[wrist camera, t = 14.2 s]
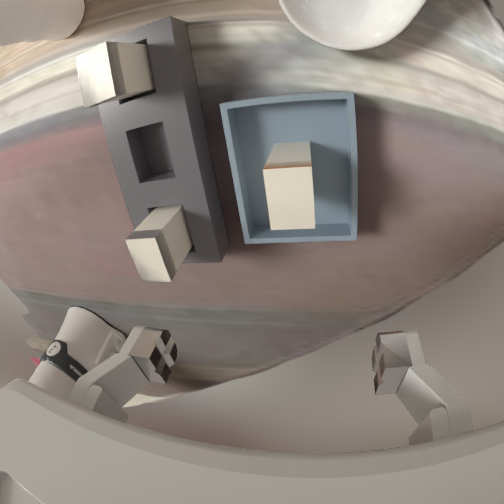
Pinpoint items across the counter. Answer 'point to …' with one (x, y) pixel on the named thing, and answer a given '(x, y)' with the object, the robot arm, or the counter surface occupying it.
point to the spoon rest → (351, 20)
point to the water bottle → (38, 20)
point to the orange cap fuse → (290, 186)
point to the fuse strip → (167, 142)
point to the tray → (322, 159)
